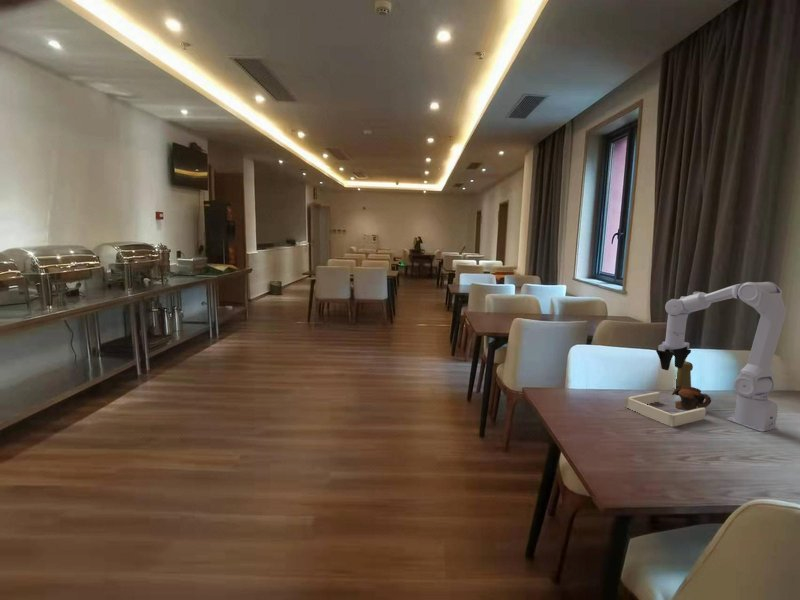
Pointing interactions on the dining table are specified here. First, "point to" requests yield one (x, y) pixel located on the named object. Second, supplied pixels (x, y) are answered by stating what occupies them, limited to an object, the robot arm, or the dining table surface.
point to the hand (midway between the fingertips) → (671, 368)
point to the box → (672, 420)
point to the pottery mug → (691, 398)
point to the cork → (684, 375)
